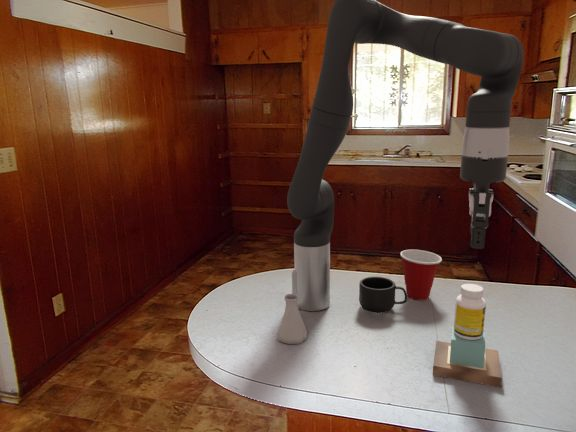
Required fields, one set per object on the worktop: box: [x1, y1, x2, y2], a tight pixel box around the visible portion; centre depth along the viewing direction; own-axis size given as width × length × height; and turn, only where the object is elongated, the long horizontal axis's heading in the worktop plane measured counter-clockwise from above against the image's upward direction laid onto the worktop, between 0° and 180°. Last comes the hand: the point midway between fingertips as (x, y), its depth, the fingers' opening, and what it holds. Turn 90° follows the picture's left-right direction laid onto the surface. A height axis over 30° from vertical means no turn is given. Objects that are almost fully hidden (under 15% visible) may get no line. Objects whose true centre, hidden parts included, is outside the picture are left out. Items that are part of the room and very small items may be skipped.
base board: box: [432, 340, 503, 388], centre depth 89 cm, size 12×10×2 cm
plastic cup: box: [400, 249, 443, 301], centre depth 121 cm, size 11×11×12 cm
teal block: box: [450, 324, 486, 368], centre depth 88 cm, size 6×6×5 cm
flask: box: [276, 293, 308, 345], centre depth 101 cm, size 7×7×10 cm
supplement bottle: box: [453, 283, 487, 340], centre depth 86 cm, size 5×5×10 cm
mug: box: [358, 276, 408, 314], centre depth 114 cm, size 12×9×7 cm
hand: (476, 241), depth 83 cm, fingers open, 8 cm apart
